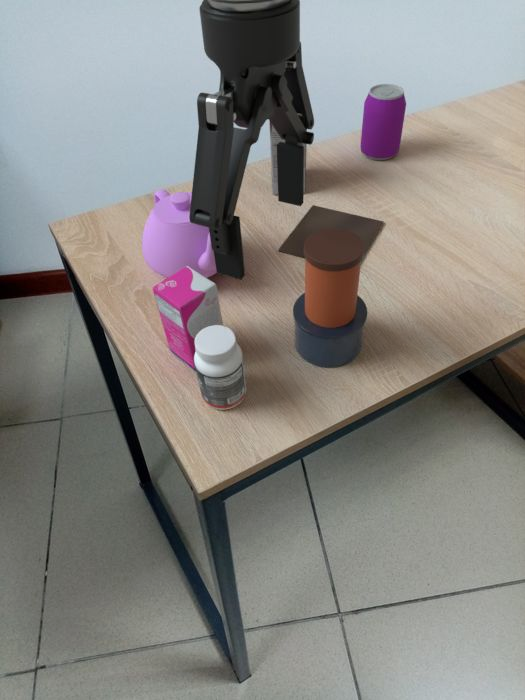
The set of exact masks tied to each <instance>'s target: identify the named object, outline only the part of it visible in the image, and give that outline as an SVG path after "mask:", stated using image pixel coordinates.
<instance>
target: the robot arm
mask: <svg viewBox="0 0 525 700" xmlns="http://www.w3.org/2000/svg"><path fill="white" fill-rule="evenodd" d="M198 9H199V16H200V17H199V18H200V25H201V34H202V42H203V50H204V53H205V55H206V57H207V58H208V59H209V60H210V61H211V62H213V63H214V64H215V65H216V66H217V68H218V70H219V73H220V74H219V75H220V78H219V87H218V91H217V92H215V93H207V92H200V93H199V94H198V95H197V99H196V108H197V121H198V131H197V139H196V140H197V141H196V150H195V159H194V168H193V169H194V170H193V179H192V189H191V192H192V197H191V207H190V216H189V218H190V222H191V223H194V224H197V225H201V226H205V227H208V228H209V233H210V239H211V247H212V250H213V252H214V257H215V264H216V271H217V273H216V274H220V275H223V276H226V277H229V278H233V279H236V280H239V281H242V280H243V279H244V278H245V276H246V270H245V261H244V250H243V241H242V240H243V239H242V227H241V218H240V216H238V215H235V213H236V208H237V204H238V200H239V195H240V192H241V187H242V184H243V179H244V176H245V173H246V172H245V171H246V168H247V163H248V160H249V155H250V151H251V147H252V145H254V144H256V143H257V142H258V141H259V138H260V134H261V130H262V127H263V126H264V124H265V123H266V122H267V120H269V121H270V122H271V124H272V125H273V127H274V128H275V130H276V131H277V133H278V134H279V136H280V137H281V139H282V140H285V143H284V142H279V143H278V144H277V172H278V195H277V199H278V200H277V201H278V202H281V203H284V204H290V205H294V206H297V207H302V205H303V204H304V194H303V189H304V146H302V143H304V144H307V145H309V146H311V145H312V144H313V142H314V139H315V133H314V132H313V131H312V132H311V131H308V130H312V129H313V128H314V126H315V116H314V114H313V113H314V112H313V107H312V104H311V98H310V95H309V89H308V85H307V81H306V77H305V72H304V68H303V53H302V42H301V0H202V2H201V4H200V6H199V8H198ZM297 113H298V114H301V115H298V114H297ZM270 122H269V123H270ZM234 124H235V125H236V126H237V127H235V125H234ZM306 130H307V131H306Z"/></svg>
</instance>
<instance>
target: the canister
mask: <svg viewBox="0 0 525 700" xmlns="http://www.w3.org/2000/svg"><path fill="white" fill-rule="evenodd" d="M363 255H364V243H363V241H362V239H361V238H360V237H359V236H358V235H356V234H354V233H352V232H350V231H347V230H343V229H335V228H332V229H323V230H320V231H317V232H315V233H313V234H311V235H310V236H309V237H308V238H307V239H306V241H305V243H304V256H305V258H304V259H305V261H304V262H305V263H304V264H305V265H304V293H305V314H306V316H307V318H308V319H309V320H310V321H311V322H313V323H314V324H316V325H318V326H321V327H326V328H336V327H341V326H344V325H346V324H347V323H349V322H350V321H351V320H352V319H353V318H354V316H355V312H356V303H357V295H358V293H359V284H360V277H361V275H360V274H361V266H362V260H363V258H364V256H365V255H364V256H363Z"/></svg>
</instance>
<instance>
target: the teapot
mask: <svg viewBox="0 0 525 700" xmlns="http://www.w3.org/2000/svg"><path fill="white" fill-rule="evenodd" d="M191 197H192V191H177V192H175V193H172V194H170V192H169V191H167V190H166V189H159V190H156V191H155V192H154V193H153V200H154V206H153V207H152V209H151V211H150V213H149V215H148V217H147V220H146V222H145V225H144V228H143V232H142V239H141V251H142V255H143V260H144V262H145V264H146V265H147V266H148V267H149V269H150V270H151V271H153V272H154V273H156V274H157V275H159V276H160V277H163V278H164V279H167V278H169V277H170V276H172V275H174V274H175V273H177V272H178V271H180V270H182V269H183V268H185V267H186V266H188V267H190V268H191V269H193V270H194V271H196V272H197V273H199V274H200V275H202V276H204V277H205V278H207V279H209V277H212V276H214V275H216V274H218V273H217V271H216V264H215V257H214V252H213V250H212V247H211V239H210V233H209V228H208V227H205V226H201V225H197V224H194V223H191V222H190V218H189V216H190V207H191Z"/></svg>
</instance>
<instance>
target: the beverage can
mask: <svg viewBox="0 0 525 700" xmlns="http://www.w3.org/2000/svg"><path fill="white" fill-rule="evenodd" d="M406 107H407V101H406V96H405V90H404V88H402V86H399V85H396V84H392V83H382V84H376V85H373V86H372V87H371V88H369V91H368V93H367V96H366V98H365V100H364V103H363V111H362V112H363V113H362V125H361V135H360V152H361V153H362V154H363V155H364V156H365V157H366V158H367V159H370V160H373V161H386V160H387V161H388V160H390V159H392V158H393V157H395V156H396V155H397V154H398V153H399V152H400V147H401V143H402V135H403V129H404V122H405V116H406V115H405V114H406Z"/></svg>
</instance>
